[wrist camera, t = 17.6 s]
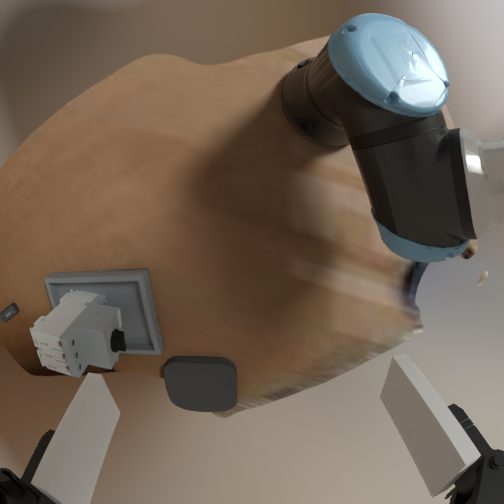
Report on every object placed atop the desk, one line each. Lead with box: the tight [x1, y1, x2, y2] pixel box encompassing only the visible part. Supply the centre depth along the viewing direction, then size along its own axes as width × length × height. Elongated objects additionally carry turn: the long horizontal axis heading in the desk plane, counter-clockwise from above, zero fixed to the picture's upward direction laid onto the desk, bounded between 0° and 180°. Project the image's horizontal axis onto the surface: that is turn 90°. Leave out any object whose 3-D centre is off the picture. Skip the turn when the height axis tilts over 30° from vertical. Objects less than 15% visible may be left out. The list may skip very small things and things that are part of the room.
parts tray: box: [44, 268, 164, 355], centre depth 46 cm, size 22×16×3 cm
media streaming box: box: [164, 356, 237, 412], centre depth 52 cm, size 15×15×3 cm
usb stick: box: [0, 303, 19, 322], centre depth 46 cm, size 10×3×2 cm, turn 116°
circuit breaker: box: [30, 289, 126, 378], centre depth 39 cm, size 8×14×15 cm, turn 84°
